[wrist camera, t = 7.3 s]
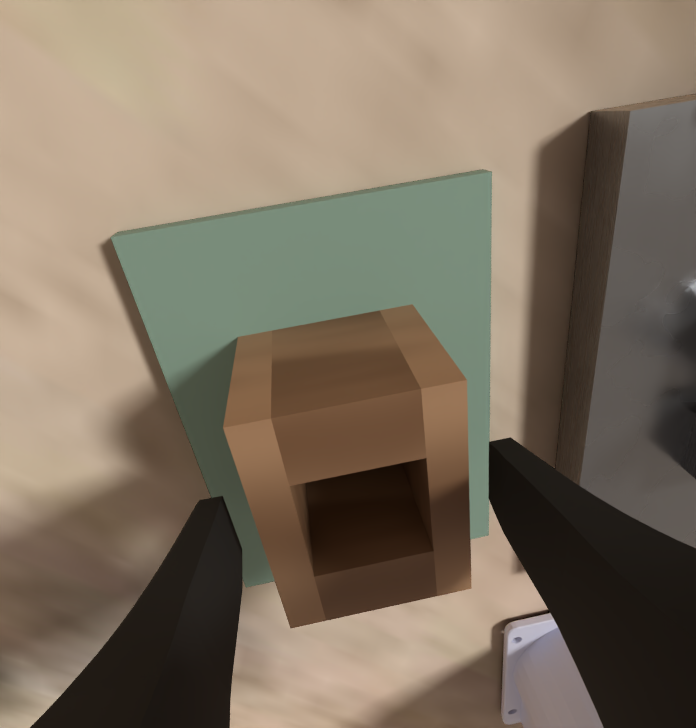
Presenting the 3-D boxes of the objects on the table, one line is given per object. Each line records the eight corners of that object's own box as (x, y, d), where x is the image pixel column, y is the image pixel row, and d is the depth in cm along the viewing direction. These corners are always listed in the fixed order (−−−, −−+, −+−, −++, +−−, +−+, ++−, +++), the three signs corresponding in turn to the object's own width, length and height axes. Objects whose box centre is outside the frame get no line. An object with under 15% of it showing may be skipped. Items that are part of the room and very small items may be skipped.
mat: (482, 524, 20) (488, 535, 19) (246, 574, 19) (245, 587, 19) (483, 169, 13) (492, 171, 12) (117, 232, 12) (110, 237, 12)
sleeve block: (426, 479, 17) (471, 588, 13) (287, 509, 17) (290, 628, 13) (412, 304, 14) (466, 380, 10) (237, 337, 14) (223, 428, 10)
